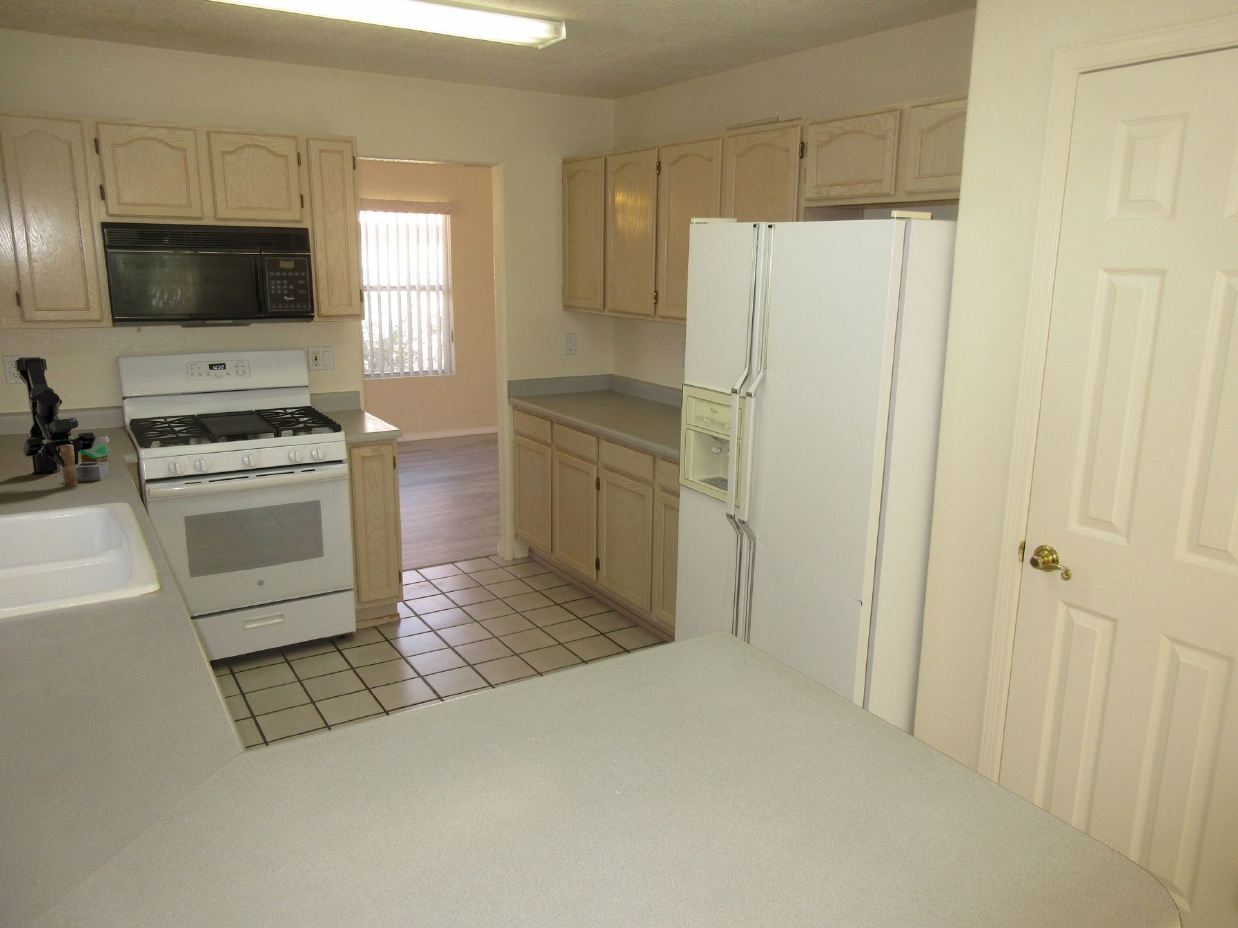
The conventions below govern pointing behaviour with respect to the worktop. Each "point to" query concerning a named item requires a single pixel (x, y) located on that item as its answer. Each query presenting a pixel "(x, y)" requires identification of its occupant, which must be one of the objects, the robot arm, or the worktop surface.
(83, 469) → the block
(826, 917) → the worktop surface
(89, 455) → the food container
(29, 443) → the robot arm
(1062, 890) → the worktop surface
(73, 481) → the dowel
